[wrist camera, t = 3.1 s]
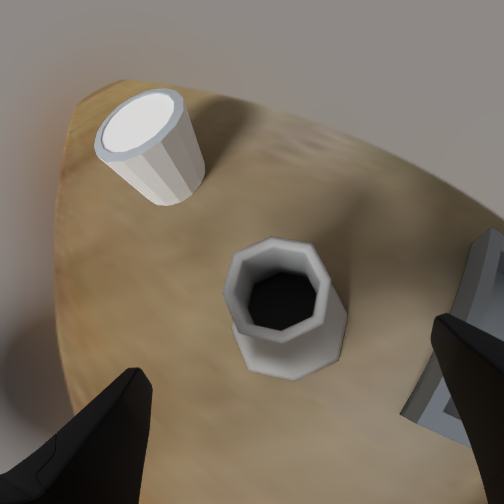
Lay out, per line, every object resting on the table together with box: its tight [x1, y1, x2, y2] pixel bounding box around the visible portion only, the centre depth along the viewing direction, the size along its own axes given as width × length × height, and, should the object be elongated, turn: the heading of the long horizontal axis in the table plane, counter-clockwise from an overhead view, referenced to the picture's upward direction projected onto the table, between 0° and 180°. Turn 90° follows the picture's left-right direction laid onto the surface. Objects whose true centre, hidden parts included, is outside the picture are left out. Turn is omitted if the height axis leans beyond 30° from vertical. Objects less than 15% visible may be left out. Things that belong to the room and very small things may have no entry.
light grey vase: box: [222, 236, 348, 381], centre depth 13 cm, size 7×7×10 cm
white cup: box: [94, 88, 205, 206], centre depth 20 cm, size 7×7×7 cm
